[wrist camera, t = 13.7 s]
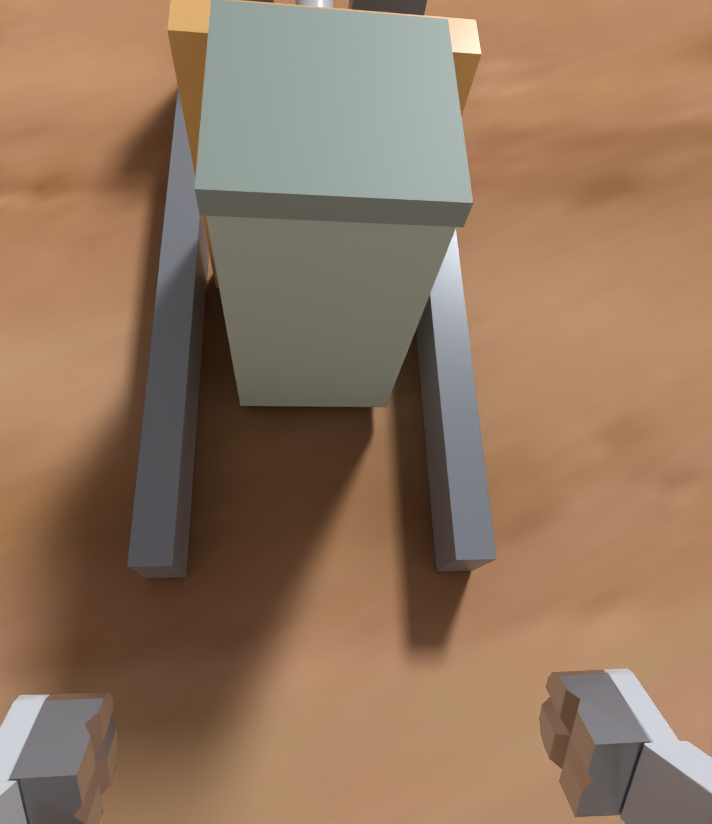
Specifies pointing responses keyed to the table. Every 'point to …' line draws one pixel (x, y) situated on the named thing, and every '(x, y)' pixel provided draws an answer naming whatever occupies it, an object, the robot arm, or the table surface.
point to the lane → (180, 380)
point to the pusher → (195, 3)
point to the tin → (327, 193)
